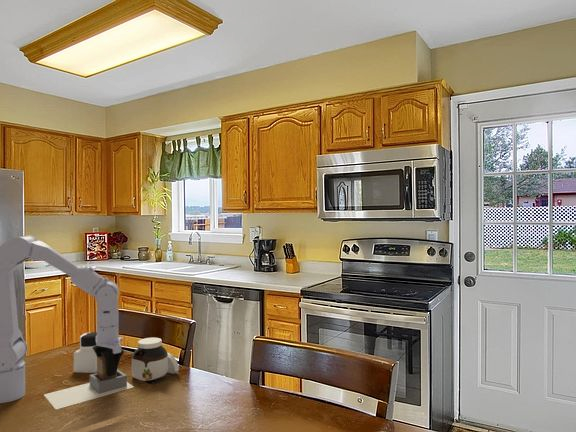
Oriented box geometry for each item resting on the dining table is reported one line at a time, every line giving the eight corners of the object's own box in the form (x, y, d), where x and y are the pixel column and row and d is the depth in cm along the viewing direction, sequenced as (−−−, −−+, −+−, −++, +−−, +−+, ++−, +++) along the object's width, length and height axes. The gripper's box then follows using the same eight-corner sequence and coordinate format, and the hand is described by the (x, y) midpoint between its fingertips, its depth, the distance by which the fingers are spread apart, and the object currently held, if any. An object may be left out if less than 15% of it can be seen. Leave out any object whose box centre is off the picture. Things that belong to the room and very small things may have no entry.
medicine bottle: (107, 367, 138) (106, 330, 138) (95, 376, 131) (94, 337, 131) (86, 367, 139) (86, 330, 139) (73, 375, 132) (72, 336, 131)
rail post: (102, 389, 118) (102, 360, 118) (97, 385, 121) (97, 357, 121) (117, 385, 120) (116, 357, 120) (111, 381, 123) (111, 353, 123)
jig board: (55, 413, 106) (55, 397, 106) (43, 398, 115) (43, 383, 115) (134, 390, 120) (134, 376, 120) (117, 378, 129) (117, 365, 129)
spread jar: (127, 382, 125) (127, 343, 125) (149, 369, 136) (148, 332, 136) (164, 386, 123) (164, 346, 123) (183, 372, 134) (182, 335, 134)
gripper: (132, 327, 118) (132, 375, 118) (112, 318, 129) (112, 362, 129) (106, 332, 113) (106, 382, 113) (88, 322, 124) (88, 368, 124)
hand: (108, 372), depth 121 cm, fingers open, 5 cm apart
